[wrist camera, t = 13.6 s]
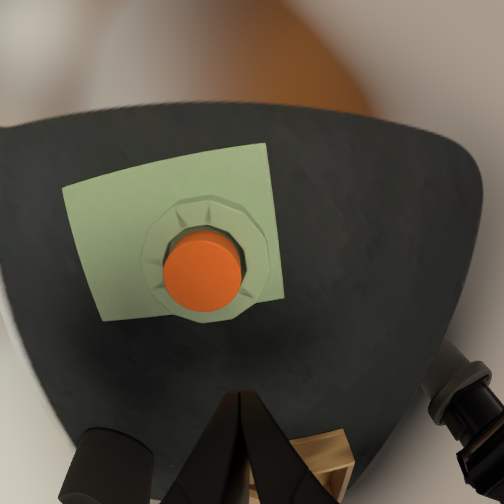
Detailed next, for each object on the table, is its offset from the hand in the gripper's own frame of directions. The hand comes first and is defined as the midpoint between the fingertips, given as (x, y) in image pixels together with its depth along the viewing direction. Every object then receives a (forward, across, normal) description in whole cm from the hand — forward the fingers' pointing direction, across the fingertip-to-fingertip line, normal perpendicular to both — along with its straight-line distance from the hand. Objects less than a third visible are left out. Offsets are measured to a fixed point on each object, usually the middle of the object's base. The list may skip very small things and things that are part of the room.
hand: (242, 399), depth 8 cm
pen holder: (+11, +18, +21) cm, 29 cm away
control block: (+11, +3, -2) cm, 12 cm away
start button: (+8, +1, -1) cm, 8 cm away
